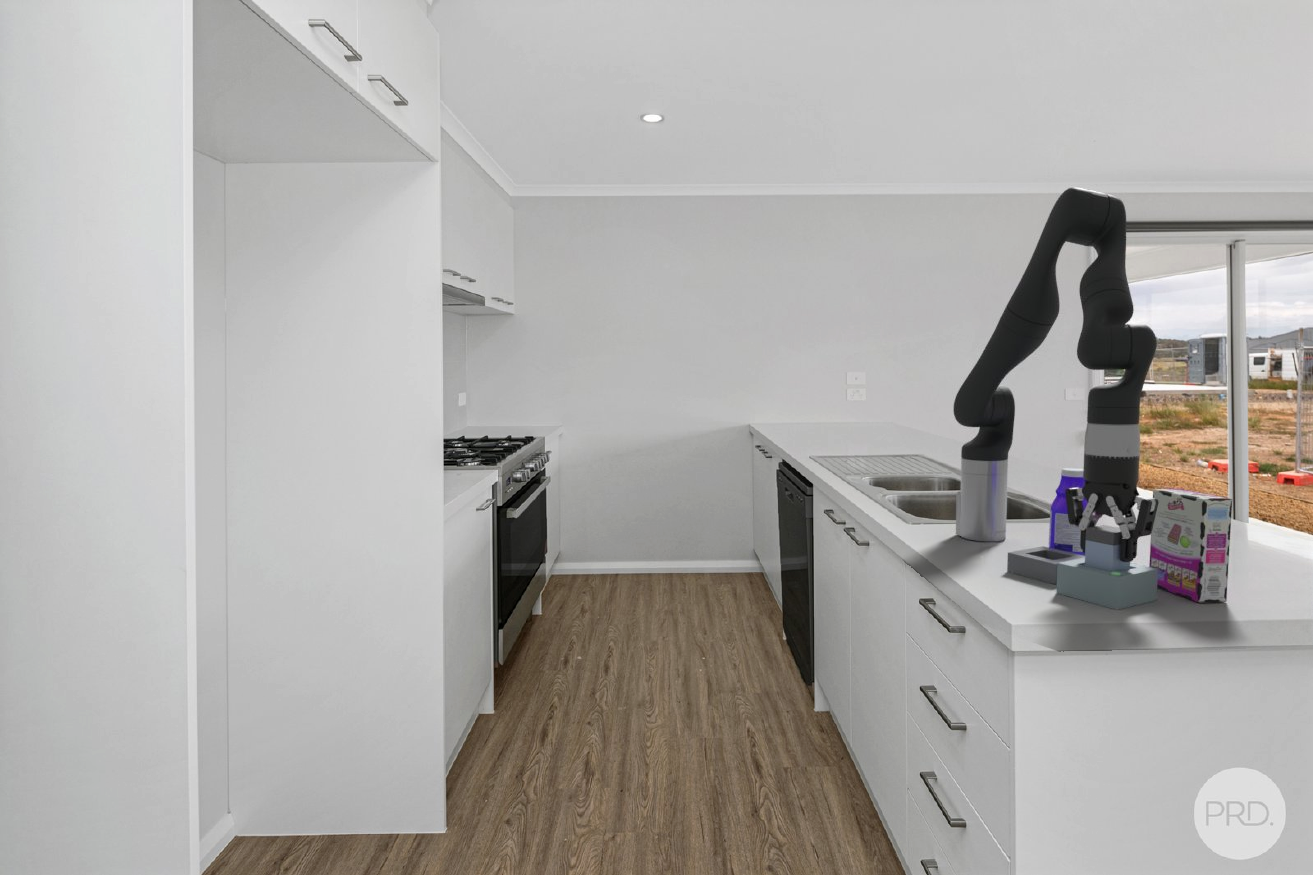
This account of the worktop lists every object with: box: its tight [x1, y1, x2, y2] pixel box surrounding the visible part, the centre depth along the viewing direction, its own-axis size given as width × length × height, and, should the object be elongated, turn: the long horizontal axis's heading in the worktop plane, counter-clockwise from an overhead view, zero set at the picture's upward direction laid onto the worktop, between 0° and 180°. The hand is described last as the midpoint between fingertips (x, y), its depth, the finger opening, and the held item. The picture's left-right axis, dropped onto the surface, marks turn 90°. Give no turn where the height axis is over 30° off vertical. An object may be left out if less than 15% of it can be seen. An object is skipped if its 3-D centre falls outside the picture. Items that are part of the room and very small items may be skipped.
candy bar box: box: [1148, 488, 1233, 604], centre depth 122 cm, size 11×5×16 cm, turn 5°
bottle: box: [1048, 467, 1088, 556], centre depth 145 cm, size 7×6×17 cm
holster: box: [1006, 545, 1085, 585], centre depth 135 cm, size 10×10×4 cm
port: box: [1056, 558, 1158, 611], centre depth 121 cm, size 10×10×5 cm
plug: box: [1085, 524, 1131, 572], centre depth 121 cm, size 4×4×10 cm
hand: (1107, 556), depth 121 cm, fingers open, 5 cm apart
